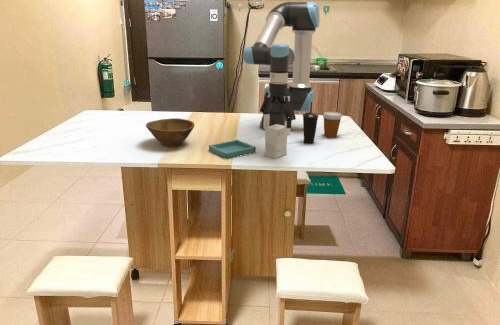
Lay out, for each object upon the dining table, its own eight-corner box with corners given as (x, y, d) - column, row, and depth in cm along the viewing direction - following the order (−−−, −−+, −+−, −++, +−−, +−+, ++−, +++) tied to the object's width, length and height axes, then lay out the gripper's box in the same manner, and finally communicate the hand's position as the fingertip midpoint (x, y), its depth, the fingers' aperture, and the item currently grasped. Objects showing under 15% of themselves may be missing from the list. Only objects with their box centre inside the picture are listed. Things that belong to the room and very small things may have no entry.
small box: (275, 151, 185) (276, 123, 181) (286, 154, 181) (288, 126, 177) (264, 155, 179) (265, 127, 175) (275, 159, 176) (277, 129, 171)
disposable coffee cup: (339, 139, 205) (342, 116, 200) (320, 138, 206) (322, 115, 202) (339, 134, 213) (342, 112, 209) (321, 133, 215) (323, 111, 211)
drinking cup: (317, 141, 201) (320, 101, 195) (315, 145, 195) (318, 104, 188) (302, 139, 204) (305, 100, 197) (299, 143, 197) (301, 102, 190)
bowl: (155, 154, 179) (153, 132, 176) (142, 140, 198) (141, 120, 195) (201, 147, 189) (201, 127, 185) (185, 135, 208) (184, 116, 204)
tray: (208, 150, 184) (208, 145, 184) (237, 144, 194) (237, 139, 193) (226, 159, 174) (226, 153, 173) (255, 152, 183) (255, 146, 183)
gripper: (252, 79, 176) (251, 127, 183) (292, 87, 158) (289, 139, 165) (266, 78, 181) (264, 124, 188) (306, 85, 162) (302, 137, 169)
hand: (276, 132), depth 176 cm, fingers open, 13 cm apart
